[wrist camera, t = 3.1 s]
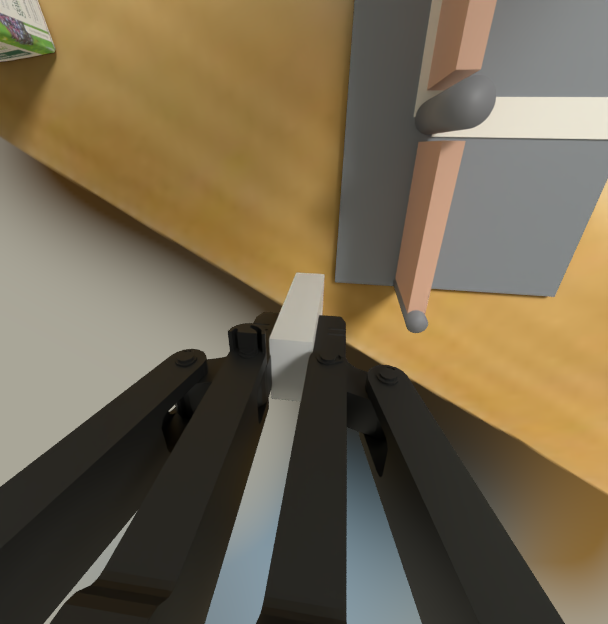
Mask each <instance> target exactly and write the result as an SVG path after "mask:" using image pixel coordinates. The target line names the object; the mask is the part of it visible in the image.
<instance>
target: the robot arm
mask: <svg viewBox="0 0 608 624" xmlns="http://www.w3.org/2000/svg"><path fill="white" fill-rule="evenodd" d="M323 293H324V274H312V273H296V275H295V277H294V280H293V282H292V284H291V287H290V289H289V292H288V294H287V297H286V299H285V301H284V304H283V306H282V309H281V311H280V313H272V312H263V313H262V314H260V315H259V316H258V317H256V319H255V321H254V323H253V324H252V323H245V324H240V325H236V326H234V327H232V328H231V329H230V330H229V331H228V337H229V346H230V352H229V354H228V355H227V356H226V357H222V358H216V359H208V360H207V358H206V355H205V353H204V352H202V351H200V350H197V349H186V350H182V351H179V352H176V353H175V354H173V355H171V356H170V357H169V358H167V359H166V360H165V361H163V362H162V363H161V364H159V365H158V366H157V367H155V368H154V369H153V370H152V371H151V372H149V373H148V374H147V375H145V376H144V377H143V378H141V379H140V380H139V381H137V382H136V383H135V384H133V385H132V386H131V387H129V388H128V389H127V390H126V391H124V392H123V393H122V394H120V395H119V396H118V397H117V398H115V399H114V400H113V401H111V402H110V403H109V404H107V405H106V406H105V407H104V408H102V409H101V410H100V411H98V412H97V413H96V414H94V415H93V416H92V417H91V418H89V419H88V420H87V421H85V422H84V423H83V424H81V425H80V426H79V427H78V428H76V429H75V430H74V431H72V432H71V433H70V434H69V435H67V436H66V437H65V438H63V439H62V440H61V441H59V443H57V444H55V445H54V446H53V447H52V448H50V449H49V450H48V451H47V452H45V453H44V454H42V455H41V456H40V457H39V458H37V459H36V460H35V461H33V462H32V463H31V464H29V465H28V466H27V467H26V468H24V469H23V470H22V471H20V472H19V473H18V474H16V475H15V476H14V477H13V478H11V479H10V480H9V481H7V482H6V483H5V484H4V485H2V486H1V487H0V624H44V622H45V621H46V620H47V619H48V618H49V616H50V615H51V614H52V613H53V612H54V610H55V609H56V608H57V607H58V606H59V604H60V603H61V602H62V601H63V599H64V598H65V597H66V596H67V595H68V593H69V592H70V591H71V590H72V589H73V587H74V586H75V585H76V584H77V583H78V581H79V580H80V579H81V578H82V576H83V575H84V574H85V573H86V572H87V571H88V569H89V568H90V567H91V566H92V565H93V563H94V562H95V561H96V560H97V558H98V557H99V556H100V555H101V554H102V552H103V551H104V550H105V549H106V548H107V546H108V545H109V544H110V543H111V542H112V540H113V539H114V538H115V537H116V536H117V534H118V533H119V532H120V531H121V530H122V528H123V527H124V526H125V525H126V524H127V522H128V521H129V520H130V518H131V517H132V516H133V515H134V514H135V513H136V511H137V510H138V511H137V513H136V515H135V516H134V518H133V520H132V521H131V523H130V525H129V527H128V528H127V530H126V532H125V534H124V535H123V537H122V539H121V541H120V542H119V544H118V546H117V547H116V549H115V551H114V553H113V555H112V556H111V558H110V560H109V561H108V563H107V565H106V567H105V568H104V570H103V571H102V573H101V575H100V576H99V577H98V579H97V580H96V581H95V582H94V583H93V584H92V585H91V586H88V587H86V588H84V589H82V590H79V591H78V592H76V593H75V594H74V595H73V596H72V597H70V599H68V600H67V601H66V602H65V603H64V605H63V606H62V607H61V609H60V610H59V611H58V613H57V614H56V616H55V617H54V618H53V620H52V621H51V623H50V624H204V623H205V621H206V617H207V614H208V611H209V607H210V603H211V600H212V597H213V594H214V590H215V587H216V584H217V580H218V577H219V574H220V570H221V567H222V564H223V560H224V557H225V553H226V550H227V547H228V543H229V540H230V537H231V533H232V530H233V527H234V523H235V520H236V517H237V513H238V510H239V506H240V503H241V500H242V496H243V493H244V490H245V486H246V483H247V480H248V476H249V473H250V469H251V466H252V463H253V459H254V456H255V453H256V449H257V446H258V443H259V439H260V436H261V433H262V429H263V426H264V423H265V419H266V416H267V412H268V409H269V400H268V397H269V394H270V391H271V395H272V396H271V398H272V399H282V400H292V401H301V403H300V408H299V414H298V419H297V425H296V430H295V436H294V441H293V446H292V451H291V457H290V462H289V468H288V473H287V478H286V484H285V489H284V495H283V500H282V505H281V511H280V516H279V521H278V527H277V532H276V537H275V543H274V548H273V554H272V559H271V564H270V570H269V575H268V581H267V586H266V591H265V597H264V602H263V606H262V610H261V614H260V616H259V618H258V620H257V623H256V624H347V622H346V518H347V517H346V516H347V514H346V512H347V510H346V509H347V508H346V507H347V506H346V505H347V498H346V497H347V494H346V493H347V490H346V489H347V486H346V485H347V481H346V480H347V476H346V475H347V469H346V468H347V464H346V463H347V459H346V458H347V456H346V455H347V449H346V448H347V427H348V428H351V429H354V430H356V431H359V436H360V440H361V443H362V445H363V448H364V451H365V454H366V457H367V460H368V463H369V466H370V469H371V472H372V475H373V478H374V481H375V484H376V487H377V490H378V493H379V496H380V499H381V502H382V505H383V508H384V511H385V514H386V517H387V520H388V523H389V526H390V529H391V532H392V535H393V538H394V541H395V544H396V547H397V549H398V553H399V556H400V559H401V562H402V565H403V568H404V571H405V574H406V577H407V580H408V583H409V586H410V588H411V592H412V595H413V598H414V601H415V604H416V607H417V610H418V613H419V616H420V619H421V622H422V624H565V623H564V622H563V620H562V619H561V617H560V615H559V614H558V612H557V611H556V609H555V607H554V606H553V604H552V603H551V601H550V600H549V598H548V596H547V595H546V593H545V592H544V590H543V589H542V587H541V586H540V584H539V582H538V581H537V579H536V578H535V576H534V574H533V573H532V571H531V570H530V568H529V567H528V565H527V563H526V562H525V560H524V559H523V557H522V556H521V554H520V553H519V551H518V549H517V548H516V546H515V545H514V543H513V541H512V540H511V538H510V537H509V535H508V534H507V532H506V530H505V529H504V527H503V526H502V524H501V523H500V521H499V519H498V518H497V516H496V515H495V513H494V512H493V510H492V509H491V507H490V506H489V504H488V502H487V500H486V499H485V497H484V496H483V494H482V493H481V491H480V490H479V488H478V487H477V485H476V483H475V482H474V480H473V478H472V477H471V475H470V474H469V472H468V471H467V469H466V467H465V466H464V465H463V463H462V461H461V460H460V458H459V457H458V455H457V453H456V452H455V450H454V449H453V447H452V445H451V444H450V442H449V441H448V439H447V438H446V436H445V434H444V433H443V431H442V430H441V428H440V427H439V425H438V423H437V422H436V420H435V419H434V417H433V416H432V414H431V412H430V411H429V409H428V408H427V406H426V405H425V403H424V402H423V400H422V398H421V397H420V395H419V394H418V392H417V390H416V389H415V387H414V386H413V384H412V383H411V381H410V379H409V378H408V376H407V375H406V374H405V373H404V372H403V371H401V370H400V369H398V368H396V367H393V366H389V365H378V366H374V367H372V368H370V369H369V371H368V372H366V371H363V370H360V369H357V368H355V367H354V366H352V365H351V364H350V363H349V362H348V361H347V359H346V355H345V354H346V323H345V321H344V320H343V319H342V317H337V316H323V315H322V312H323ZM174 405H175V406H176V407H175V408H174V409H173V410H172V411H170V412H169V410H170V409H171V408H172V407H173V406H174Z"/></svg>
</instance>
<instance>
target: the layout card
mask: <svg viewBox="0 0 608 624" xmlns="http://www.w3.org/2000/svg"><path fill="white" fill-rule="evenodd" d="M441 5H442V0H355V1H354V15H353V30H352V44H351V58H350V72H349V87H348V101H347V115H346V129H345V144H344V158H343V172H342V186H341V201H340V215H339V229H338V243H337V258H336V272H335V282H340V283H355V284H370V285H385V286H394V285H393V281H394V279H395V277H396V271H397V265H398V259H399V253H400V247H401V242H402V236H403V230H404V224H405V218H406V212H407V206H408V200H409V195H410V189H411V183H412V177H413V171H414V165H415V159H416V154H417V148H418V142H426V141H466V142H465V146H464V150H463V155H462V159H461V163H460V167H459V172H458V176H457V180H456V184H455V189H454V193H453V197H452V202H451V206H450V210H449V214H448V219H447V223H446V227H445V231H444V236H443V240H442V244H441V248H440V253H439V257H438V261H437V266H436V270H435V274H434V278H433V283H432V287H431V289H445V290H460V291H476V292H491V293H506V294H521V295H536V296H551V297H555V294H556V292H557V290H558V288H559V285H560V283H561V281H562V279H563V277H564V274H565V272H566V270H567V268H568V265H569V263H570V261H571V259H572V257H573V254H574V252H575V250H576V248H577V245H578V243H579V241H580V239H581V237H582V234H583V232H584V230H585V228H586V225H587V223H588V221H589V219H590V217H591V214H592V212H593V210H594V208H595V205H596V203H597V201H598V199H599V197H600V194H601V192H602V190H603V188H604V185H605V183H606V181H607V179H608V0H497V2H496V7H495V11H494V15H493V20H492V24H491V28H490V32H489V37H488V41H487V45H486V50H485V54H484V58H483V63H482V67H481V70H479V71H477V72H476V73H474V74H472V75H483V76H486V77H488V78H489V79H490V80H491V81H492V82H493V84H494V86H495V89H496V101H495V105H494V108H493V110H492V112H491V114H490V115H489V116H488V118H487V119H486V120H485V121H484V122H483V123H481V124H480V125H478V126H476V127H474V128H471V129H465V130H458V131H451V132H444V133H437V134H430V135H426V134H423V133H421V132H419V131H418V129H417V128H416V125H415V117H416V113H417V111H418V109H419V107H420V106H421V105H422V104H423V103H424V102H426V101H427V100H429V99H431V98H432V97H434V96H436V95H438V94H439V93H441V92H443V91H444V90H427V87H428V81H429V75H430V69H431V64H432V58H433V52H434V46H435V40H436V34H437V28H438V22H439V17H440V11H441ZM472 75H470V76H472Z"/></svg>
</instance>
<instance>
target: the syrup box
mask: <svg viewBox="0 0 608 624" xmlns="http://www.w3.org/2000/svg"><path fill="white" fill-rule="evenodd" d="M54 52H55V46H54V44H53V41H52V38H51V35H50V33H49V30H48V27H47V24H46V22H45V19H44V16H43V14H42V11H41V8H40V5H39V3H38V0H0V62H1V61H10V60H16V59H22V58H28V57H33V56H39V55H44V54H48V53H54Z"/></svg>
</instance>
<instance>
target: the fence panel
mask: <svg viewBox="0 0 608 624" xmlns="http://www.w3.org/2000/svg"><path fill="white" fill-rule="evenodd" d="M465 142H466V141H426V142H418V148H417V154H416V159H415V165H414V171H413V177H412V183H411V189H410V195H409V200H408V206H407V212H406V218H405V224H404V230H403V236H402V242H401V247H400V253H399V259H398V265H397V271H396V277H395V279H394V281H393V285H394V289H395V292H396V295H397V298H398V301H399V304H400V308H401V311H402V314H403V317H404V320H405V323H406V327H407V329H408V330H409V331H410V332H413V333H420V332H422V331H424V330H425V329H426V328H427V326H428V321H427V318H426V316H425V312H426V308H427V304H428V300H429V295H430V291H431V287H432V283H433V278H434V274H435V270H436V266H437V261H438V257H439V253H440V248H441V244H442V240H443V236H444V231H445V227H446V223H447V219H448V214H449V210H450V206H451V202H452V197H453V193H454V189H455V184H456V180H457V176H458V172H459V167H460V163H461V159H462V155H463V150H464V146H465Z"/></svg>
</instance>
